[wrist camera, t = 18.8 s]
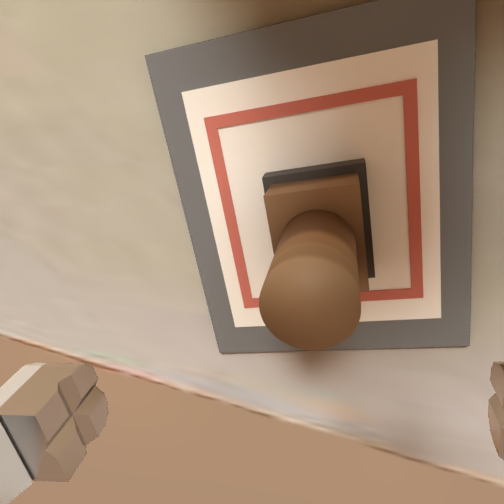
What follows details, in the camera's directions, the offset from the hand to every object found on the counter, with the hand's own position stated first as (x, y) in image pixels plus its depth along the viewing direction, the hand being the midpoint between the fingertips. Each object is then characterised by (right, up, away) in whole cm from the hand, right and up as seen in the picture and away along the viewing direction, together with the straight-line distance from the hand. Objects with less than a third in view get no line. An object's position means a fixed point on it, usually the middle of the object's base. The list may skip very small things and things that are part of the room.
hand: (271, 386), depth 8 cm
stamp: (+3, +4, +13) cm, 14 cm away
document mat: (+3, +5, +14) cm, 15 cm away
